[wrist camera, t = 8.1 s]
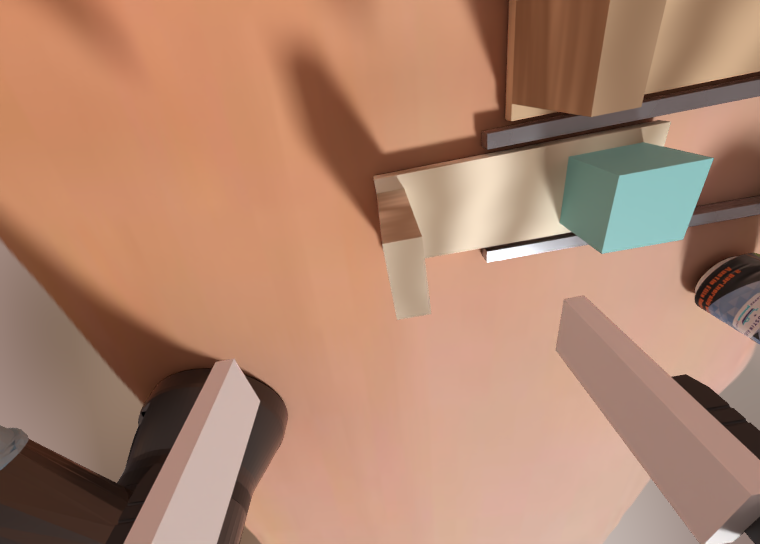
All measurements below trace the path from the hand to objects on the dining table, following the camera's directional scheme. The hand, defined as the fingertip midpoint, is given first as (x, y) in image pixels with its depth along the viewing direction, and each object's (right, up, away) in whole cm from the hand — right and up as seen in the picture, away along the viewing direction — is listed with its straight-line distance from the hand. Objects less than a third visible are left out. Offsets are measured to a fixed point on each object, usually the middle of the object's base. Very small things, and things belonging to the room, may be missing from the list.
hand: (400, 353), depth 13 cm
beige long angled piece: (+9, +9, +11) cm, 17 cm away
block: (+15, +10, +10) cm, 20 cm away
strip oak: (+17, +18, +6) cm, 26 cm away
